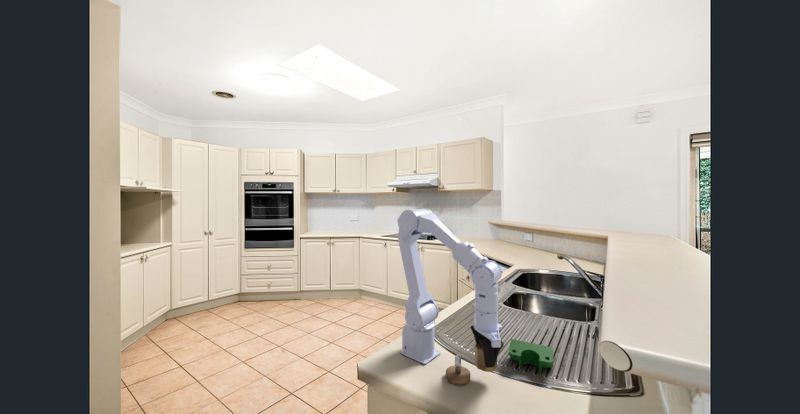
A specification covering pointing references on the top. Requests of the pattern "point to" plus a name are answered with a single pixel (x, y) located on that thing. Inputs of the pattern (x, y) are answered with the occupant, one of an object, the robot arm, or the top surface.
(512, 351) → the clamp
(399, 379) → the top surface
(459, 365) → the steel post
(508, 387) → the top surface
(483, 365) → the bronze collar
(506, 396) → the top surface
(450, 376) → the walnut stand
